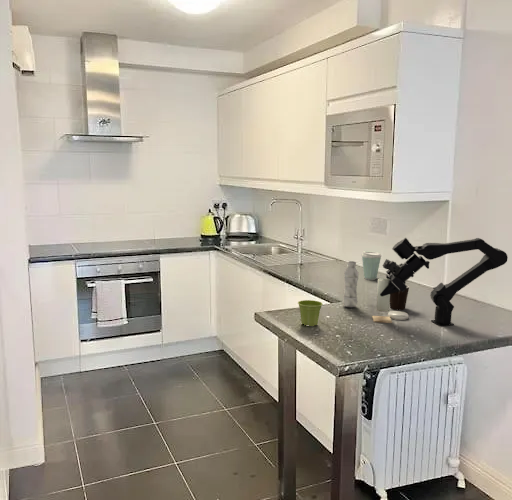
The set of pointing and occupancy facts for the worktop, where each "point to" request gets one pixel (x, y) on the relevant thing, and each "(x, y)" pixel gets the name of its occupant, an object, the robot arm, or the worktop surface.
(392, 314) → the ivory rounded dome part
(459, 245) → the robot arm
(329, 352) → the worktop surface
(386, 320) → the coaster
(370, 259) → the disposable coffee cup
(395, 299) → the coffee mug
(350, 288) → the plastic bottle
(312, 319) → the plant pot
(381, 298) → the tumbler
